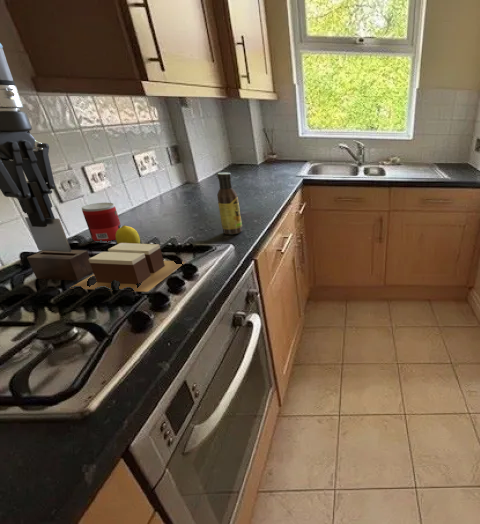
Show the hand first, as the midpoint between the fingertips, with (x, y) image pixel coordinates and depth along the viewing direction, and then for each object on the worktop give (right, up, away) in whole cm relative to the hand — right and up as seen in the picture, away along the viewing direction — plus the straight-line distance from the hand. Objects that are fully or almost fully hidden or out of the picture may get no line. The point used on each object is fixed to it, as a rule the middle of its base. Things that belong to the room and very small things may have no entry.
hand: (44, 224), depth 74 cm
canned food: (-9, -2, +30) cm, 31 cm away
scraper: (0, -6, +3) cm, 6 cm away
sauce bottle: (+26, +2, +39) cm, 47 cm away
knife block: (0, -13, +6) cm, 14 cm away
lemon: (+4, -5, +22) cm, 23 cm away
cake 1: (+15, -12, +4) cm, 20 cm away
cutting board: (+15, -13, +8) cm, 21 cm away
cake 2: (+15, -10, +9) cm, 20 cm away
